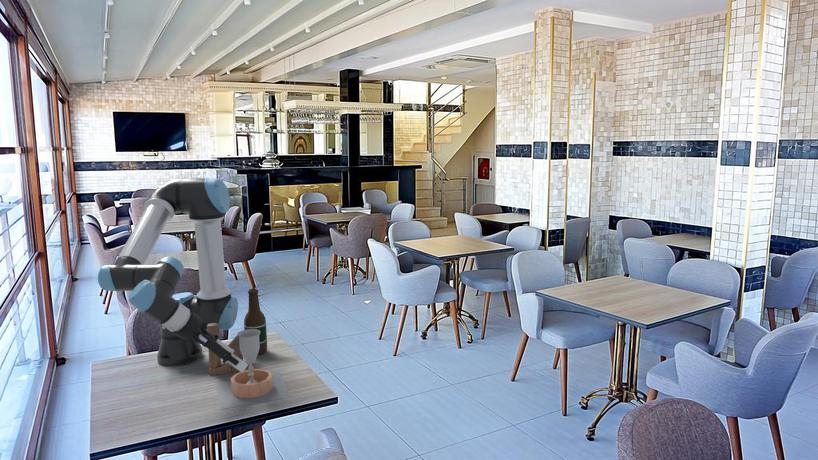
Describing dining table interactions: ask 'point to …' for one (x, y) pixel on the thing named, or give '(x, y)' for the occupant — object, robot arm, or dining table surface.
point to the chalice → (249, 348)
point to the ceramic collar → (253, 389)
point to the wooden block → (216, 360)
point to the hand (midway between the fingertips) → (238, 361)
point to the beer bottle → (256, 320)
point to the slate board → (231, 401)
